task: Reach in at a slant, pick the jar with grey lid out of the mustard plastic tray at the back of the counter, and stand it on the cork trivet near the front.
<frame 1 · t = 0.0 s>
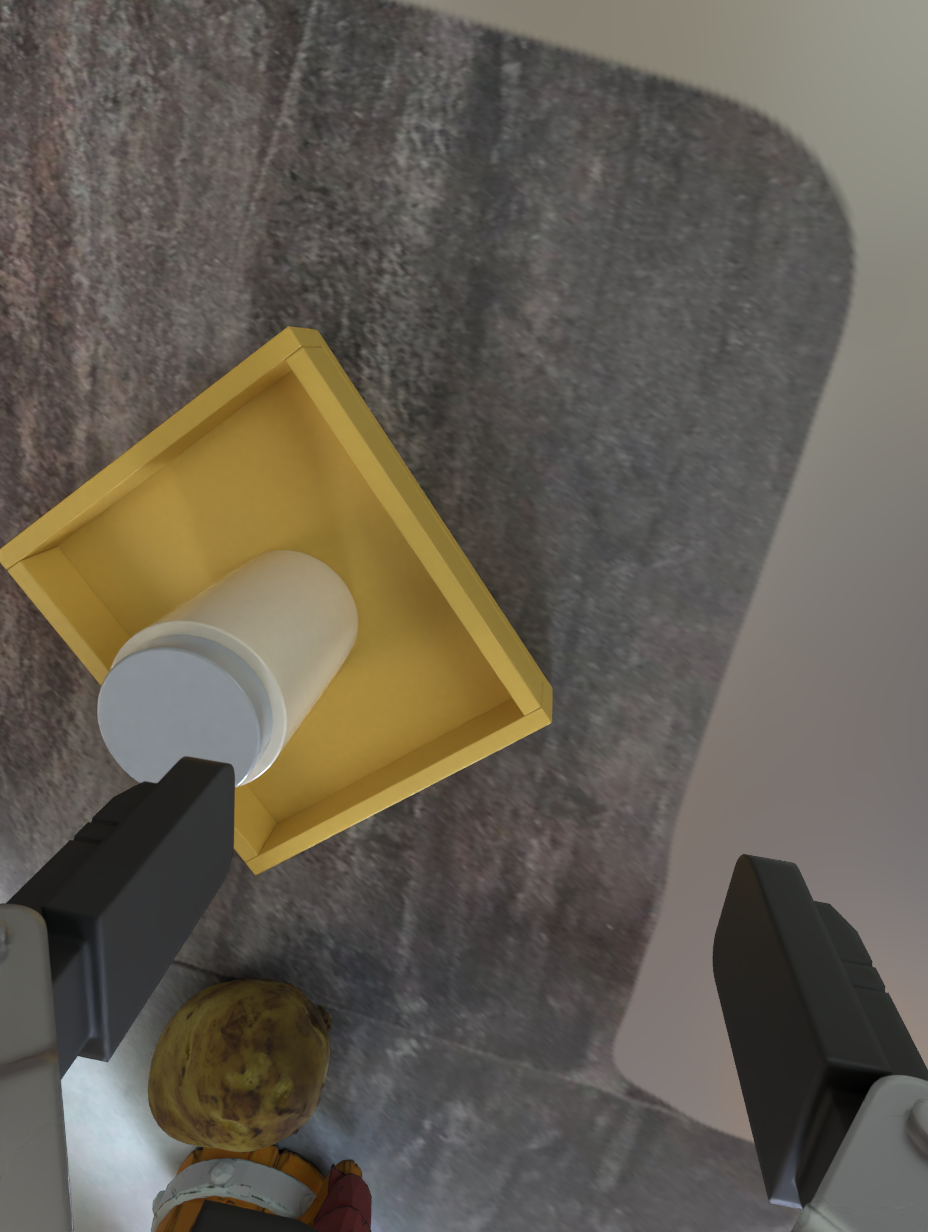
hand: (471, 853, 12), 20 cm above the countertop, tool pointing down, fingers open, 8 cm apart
potato: (257, 1002, 41), on the countertop
mug: (289, 1179, 46), on the countertop
jar with grey lid: (290, 617, 32), point 1 cm above the countertop, touching tray
tray: (297, 611, 33), on the countertop
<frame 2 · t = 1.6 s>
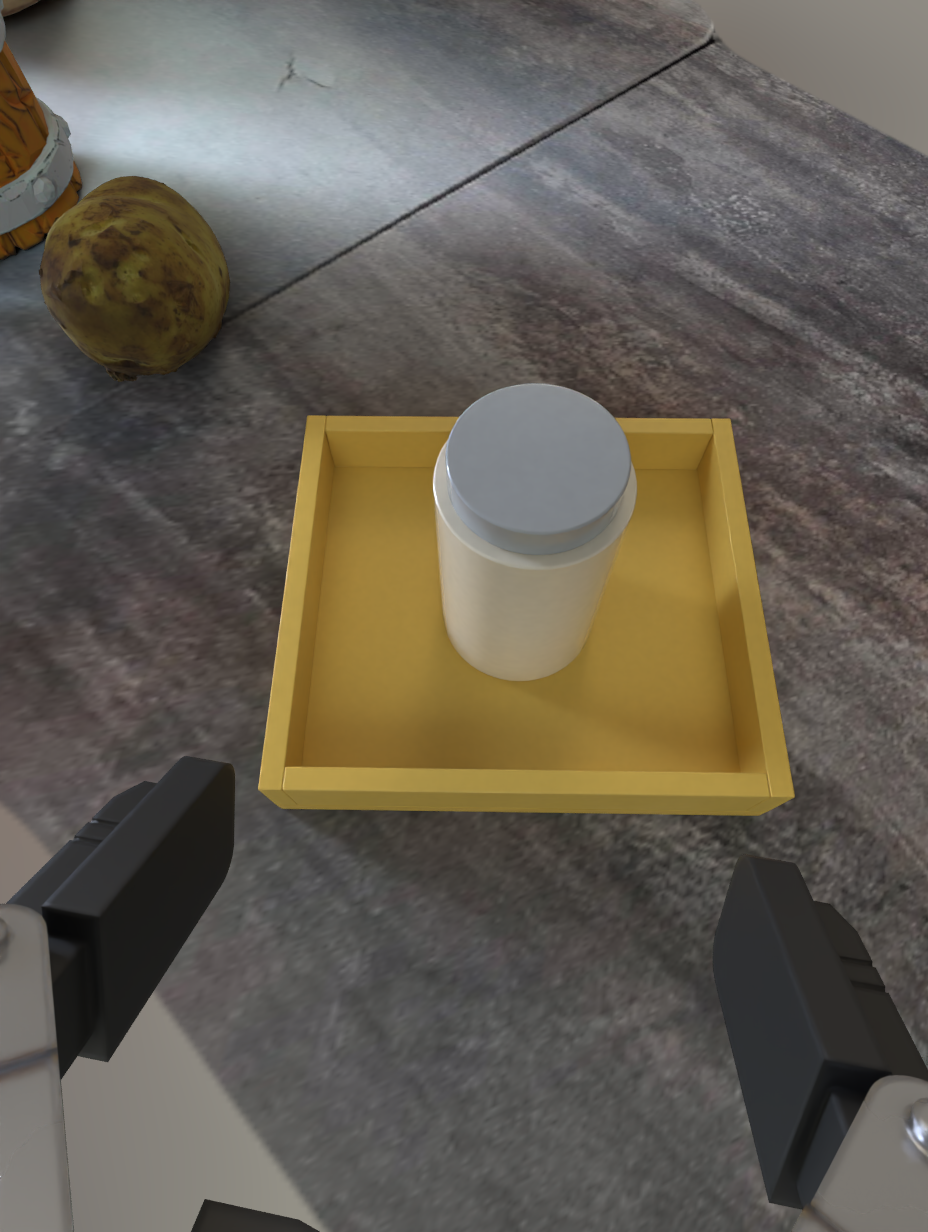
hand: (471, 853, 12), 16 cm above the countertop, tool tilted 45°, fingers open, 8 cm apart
potato: (176, 332, 38), on the countertop
jar with grey lid: (517, 611, 30), point 1 cm above the countertop, touching tray
tray: (516, 620, 31), on the countertop
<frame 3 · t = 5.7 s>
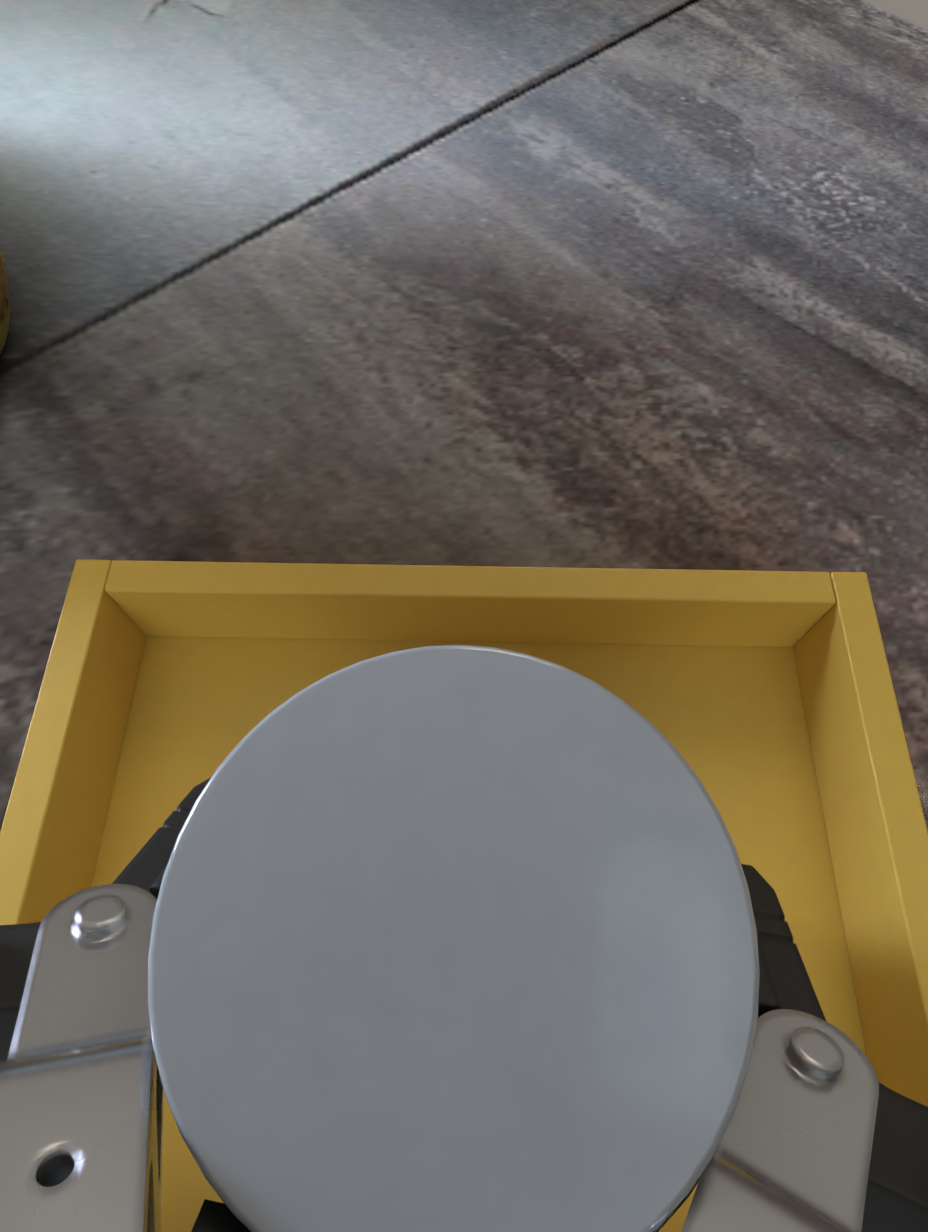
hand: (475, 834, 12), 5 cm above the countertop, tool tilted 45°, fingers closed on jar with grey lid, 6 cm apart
jar with grey lid: (461, 951, 16), point 1 cm above the countertop, touching gripper, tray
tray: (461, 952, 16), on the countertop
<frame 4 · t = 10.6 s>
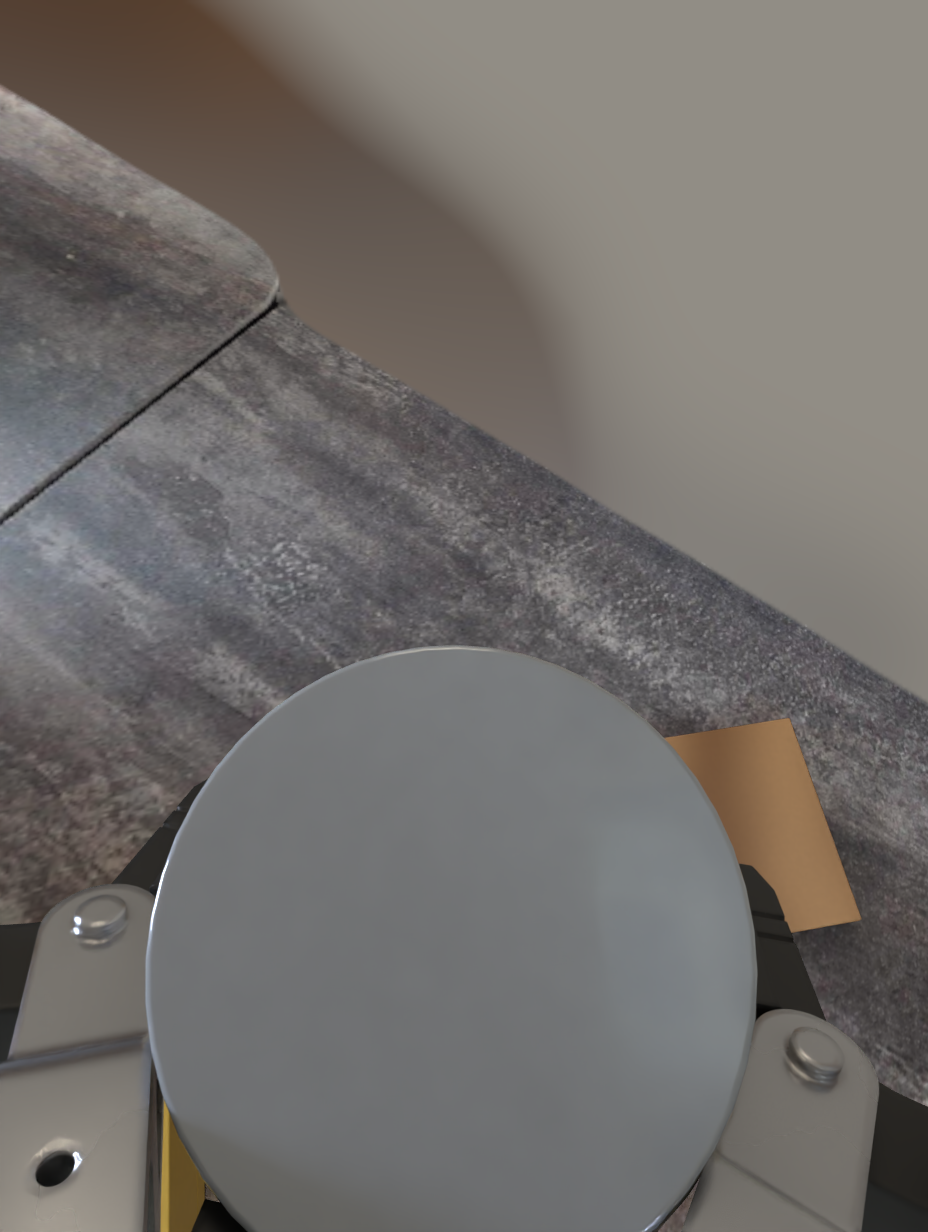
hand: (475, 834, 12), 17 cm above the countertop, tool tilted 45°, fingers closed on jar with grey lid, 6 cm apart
jar with grey lid: (460, 951, 16), point 12 cm above the countertop, touching gripper
trivet: (720, 832, 29), on the countertop
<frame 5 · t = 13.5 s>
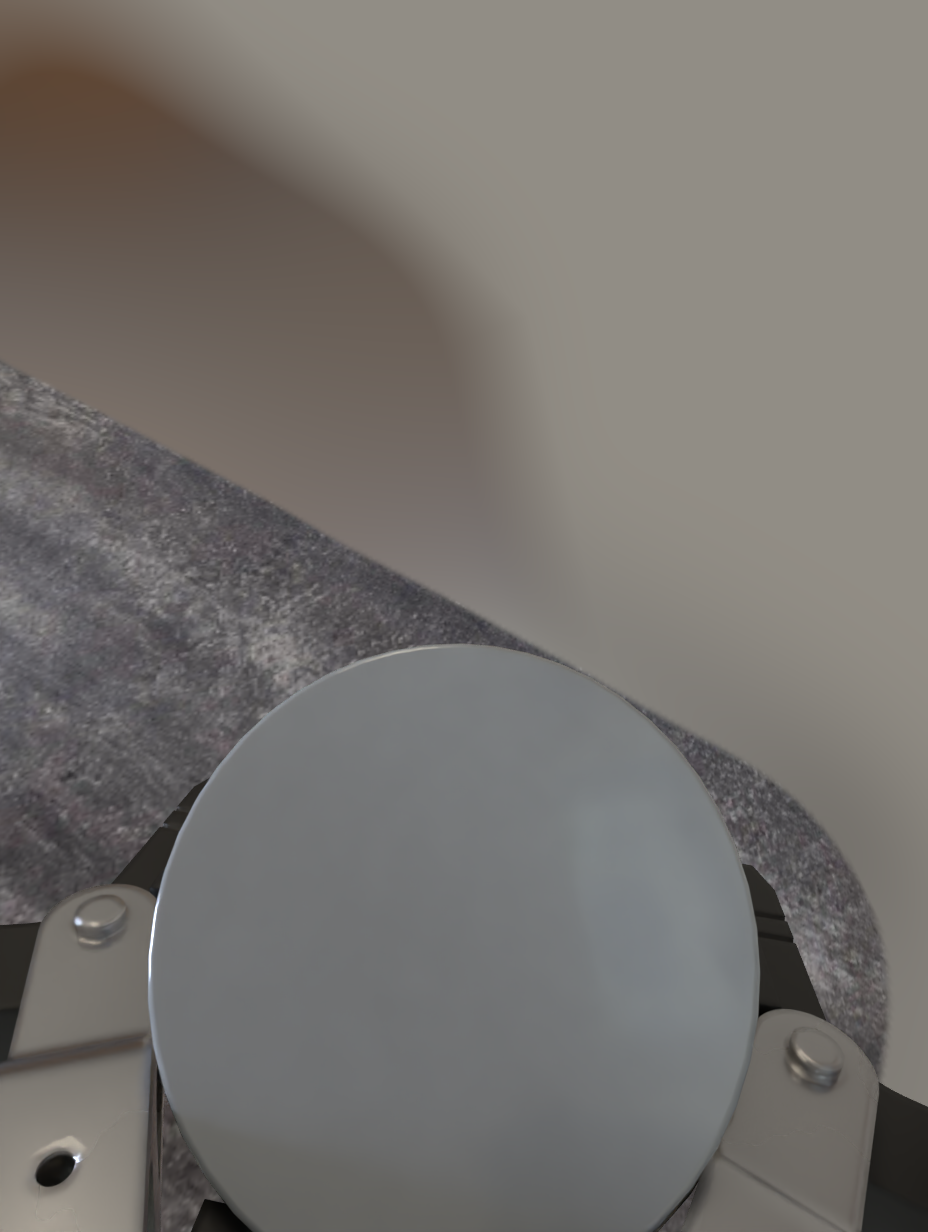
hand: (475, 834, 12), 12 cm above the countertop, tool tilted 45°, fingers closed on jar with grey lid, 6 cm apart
jar with grey lid: (461, 951, 16), point 8 cm above the countertop, touching gripper
when the fingers open (5 cm above the countertop, at t = 15.9 s): jar with grey lid stays where it is, resting on trivet.
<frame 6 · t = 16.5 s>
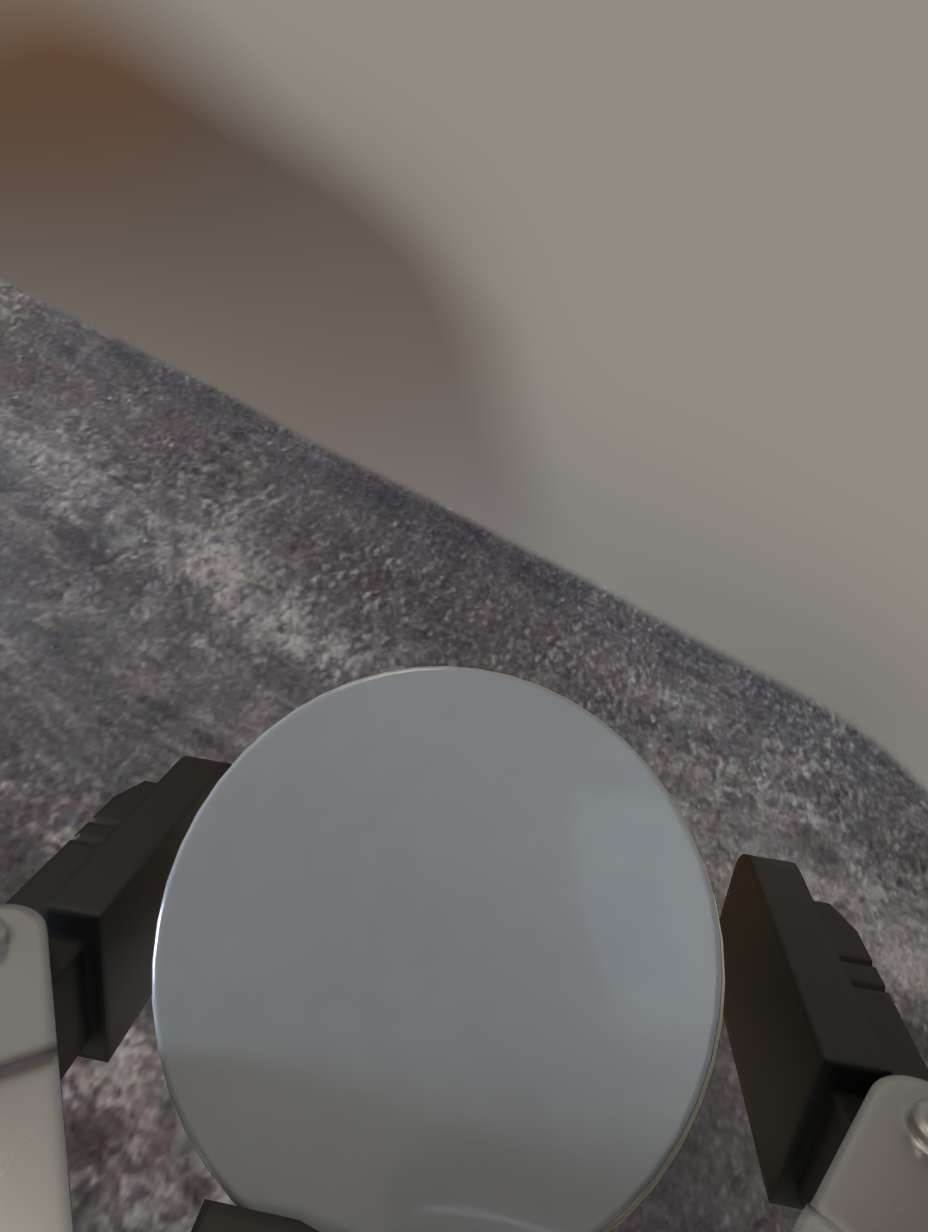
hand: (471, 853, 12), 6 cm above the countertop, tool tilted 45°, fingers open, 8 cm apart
jar with grey lid: (452, 953, 16), point 1 cm above the countertop, touching trivet
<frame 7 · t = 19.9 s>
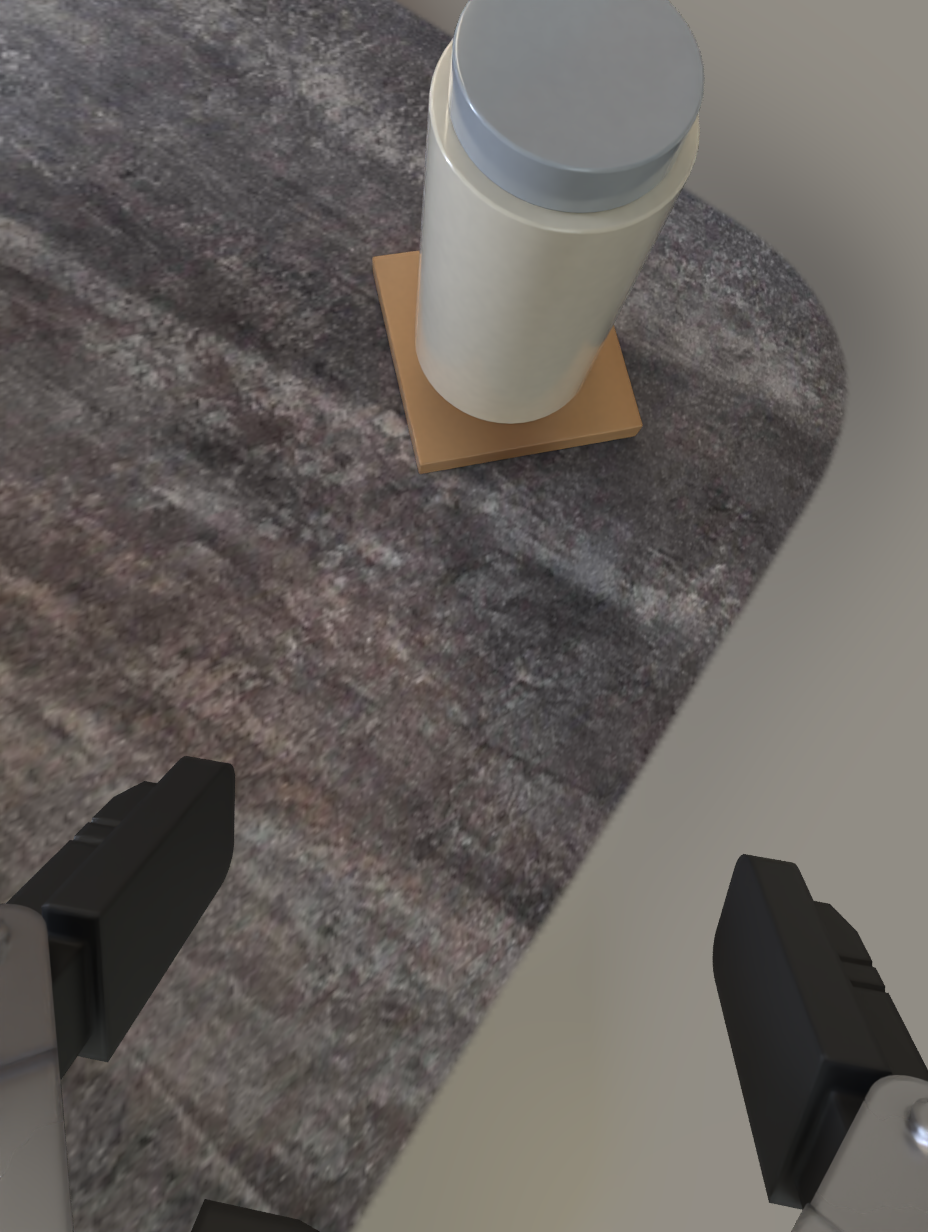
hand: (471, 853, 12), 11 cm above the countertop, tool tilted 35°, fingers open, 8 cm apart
jar with grey lid: (504, 341, 25), point 1 cm above the countertop, touching trivet
trivet: (503, 353, 26), on the countertop
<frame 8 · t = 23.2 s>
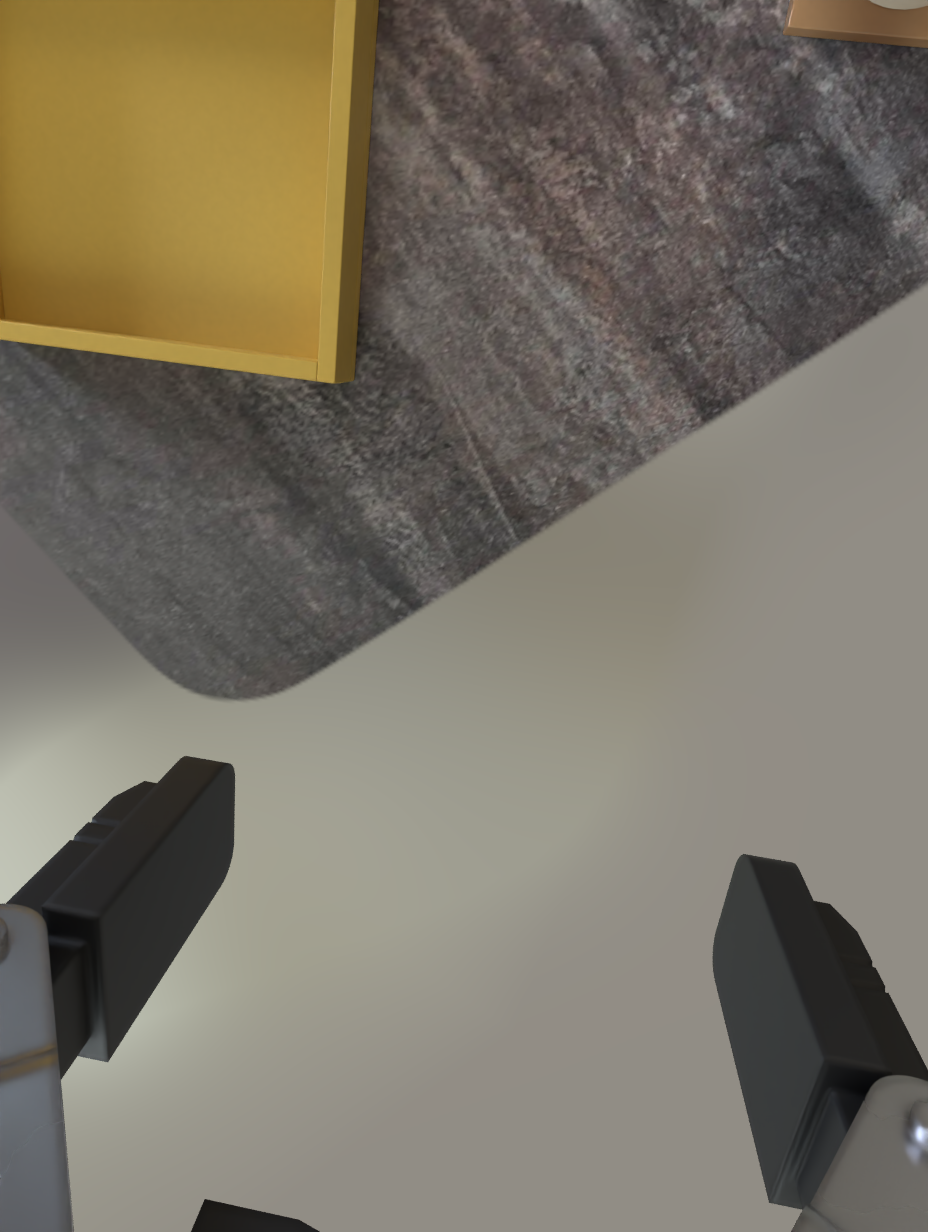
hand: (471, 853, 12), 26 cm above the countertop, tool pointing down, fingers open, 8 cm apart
tray: (173, 172, 33), on the countertop
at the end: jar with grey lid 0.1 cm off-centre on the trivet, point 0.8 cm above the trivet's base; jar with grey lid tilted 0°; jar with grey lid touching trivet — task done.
